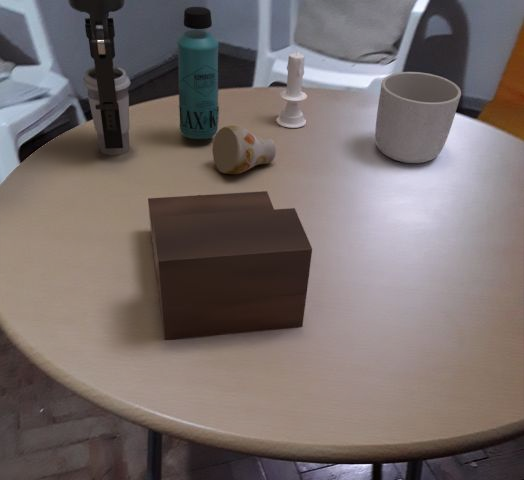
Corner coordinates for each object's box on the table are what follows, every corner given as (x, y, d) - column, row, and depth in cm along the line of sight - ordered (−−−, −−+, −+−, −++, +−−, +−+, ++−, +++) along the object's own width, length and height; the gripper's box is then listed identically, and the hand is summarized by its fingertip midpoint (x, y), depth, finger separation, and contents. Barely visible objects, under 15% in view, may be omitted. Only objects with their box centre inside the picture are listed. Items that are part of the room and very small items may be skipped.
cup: (145, 145, 103) (138, 70, 94) (121, 162, 98) (112, 85, 90) (109, 135, 105) (99, 61, 96) (84, 151, 101) (71, 75, 92)
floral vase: (288, 168, 100) (274, 128, 91) (236, 201, 100) (217, 164, 91) (266, 138, 103) (250, 96, 94) (216, 170, 103) (195, 131, 94)
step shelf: (150, 230, 86) (143, 155, 78) (265, 222, 89) (269, 149, 81) (164, 340, 71) (158, 261, 63) (302, 326, 73) (312, 249, 66)
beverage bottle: (171, 137, 105) (164, 6, 91) (203, 126, 109) (200, -1, 95) (195, 152, 102) (192, 19, 88) (227, 140, 106) (228, 11, 92)
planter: (395, 175, 100) (410, 108, 92) (356, 141, 108) (367, 76, 100) (458, 163, 104) (477, 97, 96) (416, 130, 112) (431, 67, 104)
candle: (279, 113, 114) (284, 44, 106) (308, 117, 113) (315, 48, 105) (273, 126, 110) (278, 55, 102) (303, 130, 110) (310, 59, 101)
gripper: (124, -6, 79) (140, 165, 95) (119, -44, 91) (134, 112, 107) (62, -5, 77) (89, 168, 94) (65, -44, 90) (89, 114, 106)
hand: (113, 138), depth 100 cm, fingers closed on cup, 5 cm apart
